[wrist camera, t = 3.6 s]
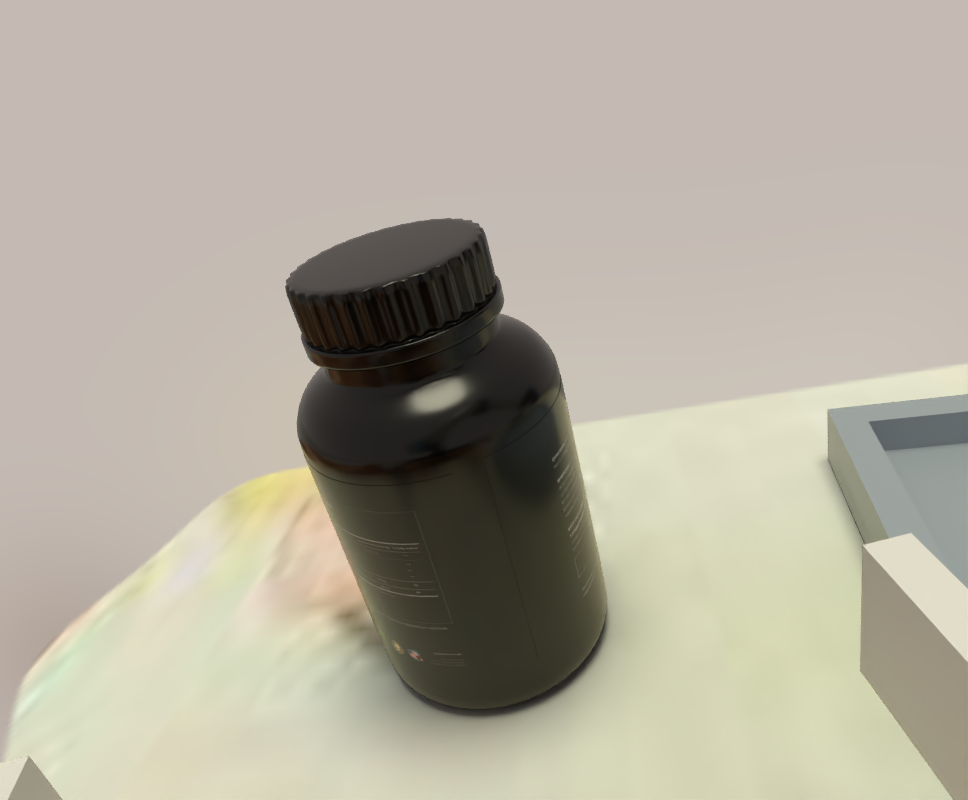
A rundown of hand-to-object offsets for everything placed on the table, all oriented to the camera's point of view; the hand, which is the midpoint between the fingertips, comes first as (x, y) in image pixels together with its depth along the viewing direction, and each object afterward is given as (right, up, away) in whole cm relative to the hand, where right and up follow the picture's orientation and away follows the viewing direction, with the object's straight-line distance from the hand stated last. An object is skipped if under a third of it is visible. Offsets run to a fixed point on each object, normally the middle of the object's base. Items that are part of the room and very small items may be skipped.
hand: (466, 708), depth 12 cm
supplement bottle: (+1, -2, +11) cm, 11 cm away
